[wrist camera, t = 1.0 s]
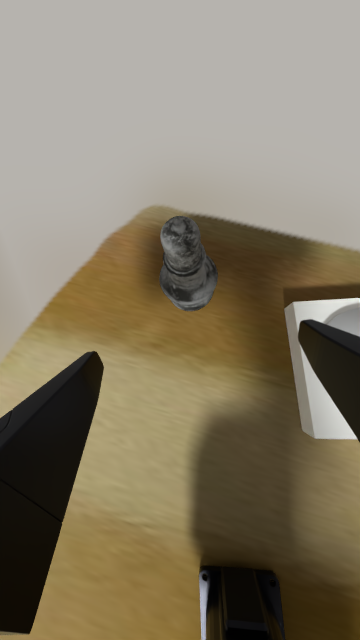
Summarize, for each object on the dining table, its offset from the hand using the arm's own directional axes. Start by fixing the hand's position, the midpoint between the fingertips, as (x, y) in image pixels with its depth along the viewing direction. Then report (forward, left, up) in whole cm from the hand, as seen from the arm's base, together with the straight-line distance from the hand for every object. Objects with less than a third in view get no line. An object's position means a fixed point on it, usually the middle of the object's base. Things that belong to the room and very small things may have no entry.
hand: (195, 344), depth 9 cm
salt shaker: (+8, +1, -14) cm, 16 cm away
